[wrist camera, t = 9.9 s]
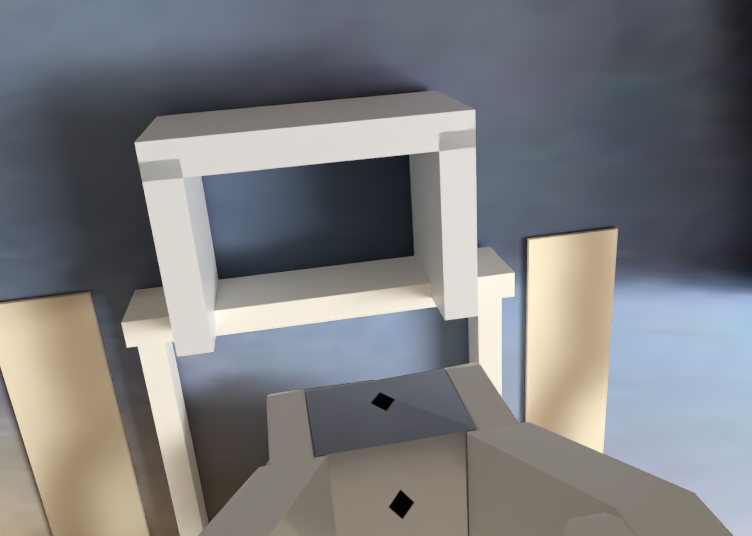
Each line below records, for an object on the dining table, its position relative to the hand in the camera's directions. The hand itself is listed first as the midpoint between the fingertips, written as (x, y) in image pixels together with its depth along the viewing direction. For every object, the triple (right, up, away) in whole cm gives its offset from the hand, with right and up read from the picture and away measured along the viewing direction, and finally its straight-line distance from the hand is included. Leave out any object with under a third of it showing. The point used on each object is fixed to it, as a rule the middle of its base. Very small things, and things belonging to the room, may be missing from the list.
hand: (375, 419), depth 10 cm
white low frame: (-2, -1, +20) cm, 20 cm away
